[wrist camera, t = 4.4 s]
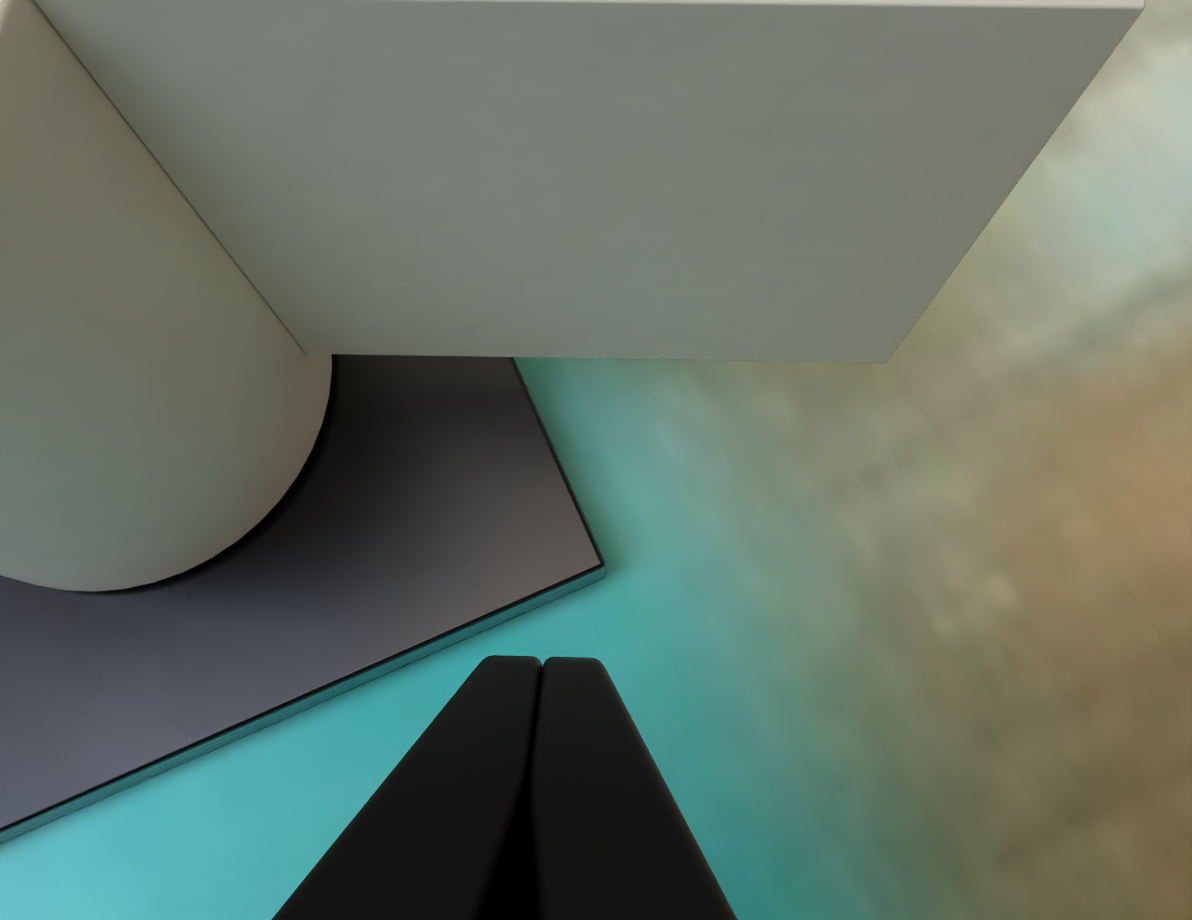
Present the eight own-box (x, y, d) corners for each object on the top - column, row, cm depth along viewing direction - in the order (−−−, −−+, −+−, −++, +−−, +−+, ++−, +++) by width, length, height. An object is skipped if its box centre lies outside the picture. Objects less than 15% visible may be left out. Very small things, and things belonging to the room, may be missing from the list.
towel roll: (868, 393, 18) (1181, -28, 8) (-4, 772, 16) (-884, 812, 7) (643, -31, 20) (677, -774, 10) (-148, 275, 18) (-983, -245, 9)
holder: (606, 576, 18) (606, 565, 17) (-96, 886, 17) (-146, 897, 16) (353, 8, 21) (338, -35, 20) (-265, 242, 20) (-319, 211, 19)
